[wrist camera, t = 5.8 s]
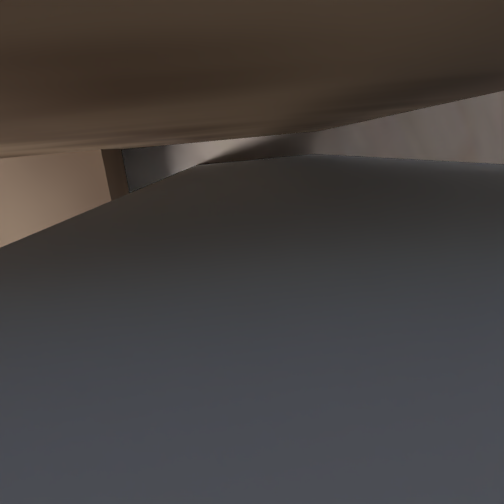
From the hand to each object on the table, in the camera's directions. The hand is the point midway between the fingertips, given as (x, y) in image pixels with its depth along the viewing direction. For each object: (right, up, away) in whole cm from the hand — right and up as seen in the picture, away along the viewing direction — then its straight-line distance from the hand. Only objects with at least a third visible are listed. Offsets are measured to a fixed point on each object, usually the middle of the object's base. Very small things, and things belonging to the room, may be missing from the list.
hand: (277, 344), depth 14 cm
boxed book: (0, +1, +4) cm, 5 cm away
